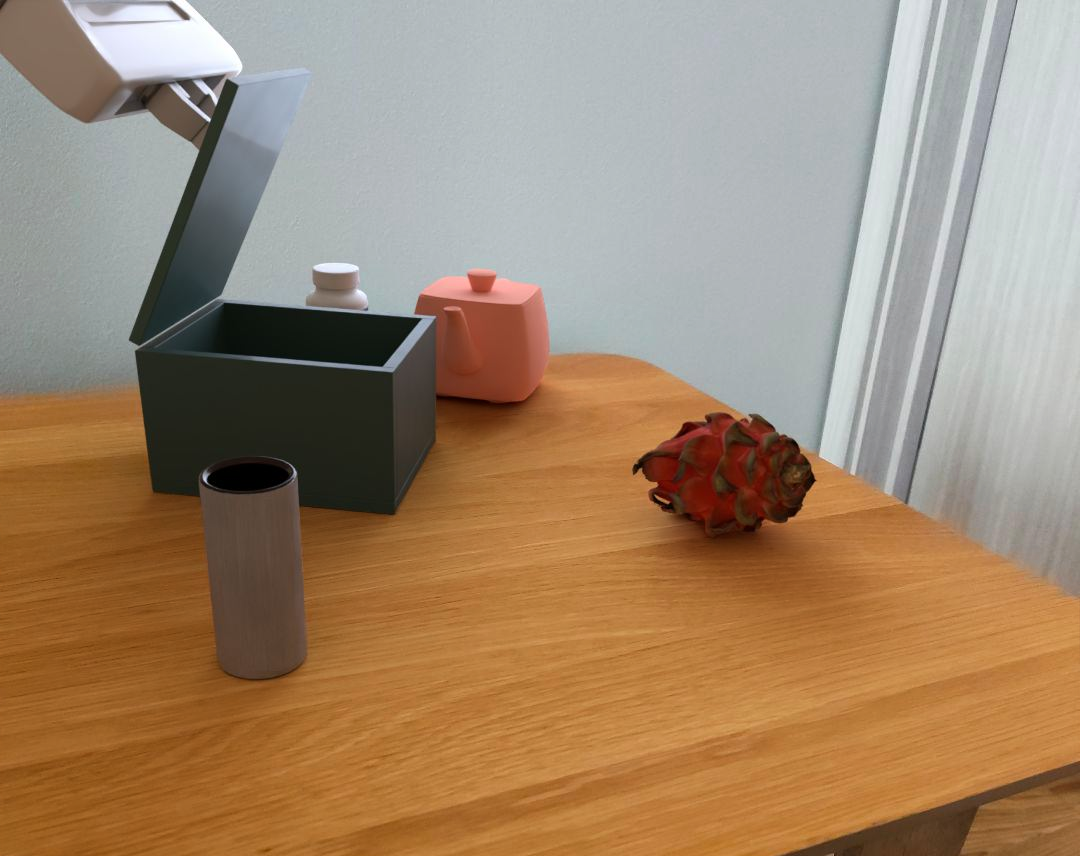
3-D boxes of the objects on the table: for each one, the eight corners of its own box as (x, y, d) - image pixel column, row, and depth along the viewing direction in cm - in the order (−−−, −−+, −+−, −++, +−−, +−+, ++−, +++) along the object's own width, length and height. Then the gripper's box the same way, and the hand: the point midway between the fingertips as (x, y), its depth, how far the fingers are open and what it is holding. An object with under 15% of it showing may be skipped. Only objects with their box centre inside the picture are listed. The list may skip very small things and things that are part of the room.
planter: (200, 653, 55) (180, 470, 50) (276, 623, 58) (264, 448, 53) (247, 691, 52) (229, 501, 47) (324, 658, 55) (315, 476, 50)
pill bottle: (299, 381, 94) (293, 270, 90) (324, 363, 99) (319, 258, 94) (356, 388, 93) (352, 277, 89) (378, 370, 98) (376, 264, 93)
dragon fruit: (815, 566, 70) (637, 561, 74) (818, 458, 74) (649, 458, 78) (815, 500, 63) (617, 498, 66) (818, 385, 67) (632, 388, 70)
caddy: (435, 440, 83) (436, 316, 78) (394, 514, 71) (392, 372, 66) (228, 422, 84) (217, 298, 80) (152, 492, 72) (134, 350, 68)
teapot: (561, 369, 101) (567, 258, 96) (513, 433, 85) (518, 304, 80) (446, 355, 103) (447, 246, 98) (378, 415, 87) (376, 289, 83)
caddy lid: (312, 73, 72) (302, 66, 72) (238, 85, 60) (225, 78, 60) (221, 295, 80) (211, 290, 80) (139, 346, 67) (127, 340, 67)
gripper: (111, 10, 75) (255, 165, 78) (-72, 9, 57) (127, 211, 60) (165, -60, 72) (311, 103, 76) (-8, -83, 54) (195, 133, 58)
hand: (229, 151), depth 68 cm, fingers closed, pressing on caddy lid
